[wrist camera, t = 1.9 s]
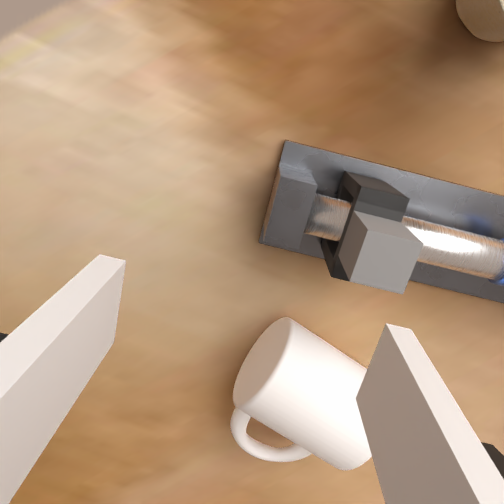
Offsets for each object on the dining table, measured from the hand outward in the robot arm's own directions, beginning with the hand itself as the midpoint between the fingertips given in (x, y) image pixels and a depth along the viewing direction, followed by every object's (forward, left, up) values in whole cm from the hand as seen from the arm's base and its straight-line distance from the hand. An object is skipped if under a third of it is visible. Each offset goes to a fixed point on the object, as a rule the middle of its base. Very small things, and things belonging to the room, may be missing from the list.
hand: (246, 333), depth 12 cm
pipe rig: (+13, 0, -21) cm, 25 cm away
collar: (+7, 0, -20) cm, 21 cm away
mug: (+7, -16, -21) cm, 28 cm away
